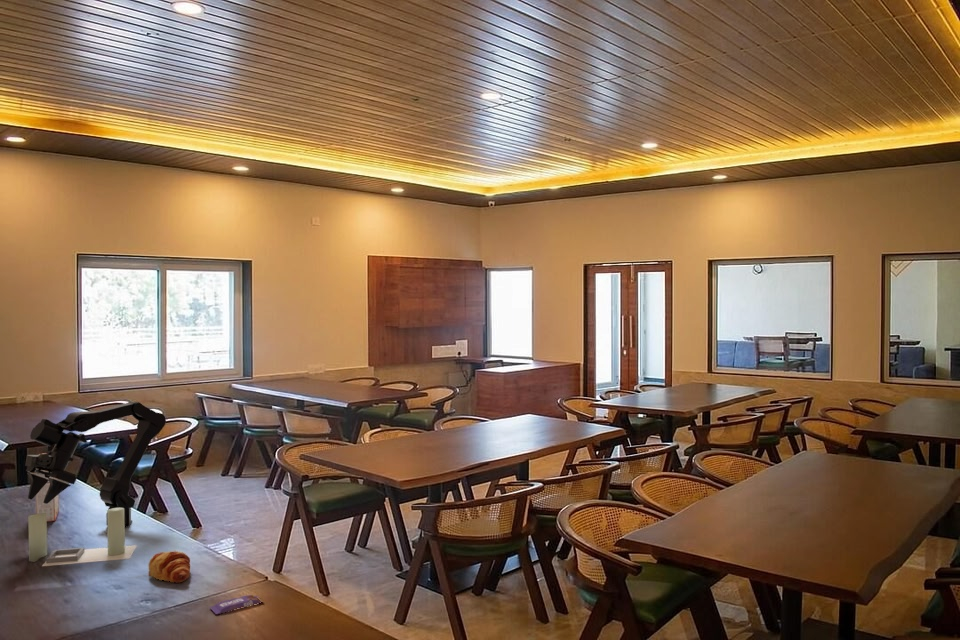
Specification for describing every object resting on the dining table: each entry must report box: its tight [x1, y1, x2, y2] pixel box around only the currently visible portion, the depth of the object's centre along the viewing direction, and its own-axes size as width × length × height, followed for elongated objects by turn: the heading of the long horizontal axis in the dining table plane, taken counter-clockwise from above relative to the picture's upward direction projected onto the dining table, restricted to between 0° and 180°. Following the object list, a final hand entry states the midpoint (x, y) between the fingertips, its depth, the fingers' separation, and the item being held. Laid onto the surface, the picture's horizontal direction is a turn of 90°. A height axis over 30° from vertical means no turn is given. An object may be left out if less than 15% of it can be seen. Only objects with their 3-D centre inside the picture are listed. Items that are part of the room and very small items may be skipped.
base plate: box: [41, 544, 138, 567], centre depth 210 cm, size 22×12×2 cm, turn 106°
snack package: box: [209, 594, 261, 615], centre depth 176 cm, size 12×2×5 cm
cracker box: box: [35, 452, 60, 523], centre depth 251 cm, size 14×6×21 cm, turn 25°
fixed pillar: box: [106, 508, 126, 556], centre depth 211 cm, size 4×4×12 cm
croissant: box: [148, 550, 191, 584], centre depth 197 cm, size 21×10×8 cm, turn 43°
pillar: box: [27, 513, 48, 563], centre depth 209 cm, size 4×4×12 cm
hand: (37, 501), depth 220 cm, fingers open, 9 cm apart
